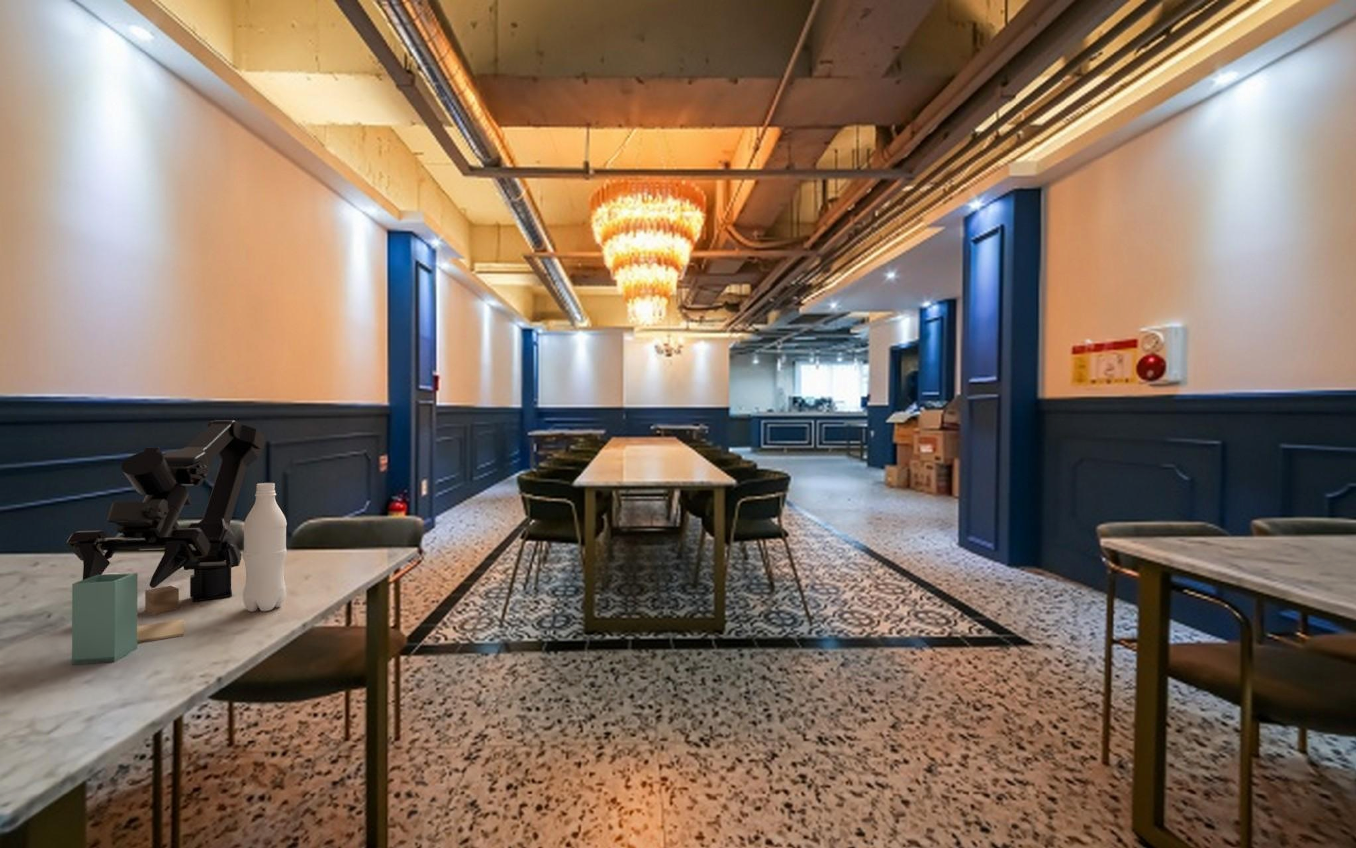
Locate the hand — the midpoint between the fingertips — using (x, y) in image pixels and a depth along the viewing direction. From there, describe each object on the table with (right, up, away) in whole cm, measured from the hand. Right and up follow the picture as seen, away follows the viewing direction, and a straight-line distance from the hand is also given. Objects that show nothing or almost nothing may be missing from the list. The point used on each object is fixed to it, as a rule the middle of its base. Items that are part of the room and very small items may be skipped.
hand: (118, 588), depth 98 cm
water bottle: (+9, -10, +22) cm, 26 cm away
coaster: (-1, -10, +7) cm, 12 cm away
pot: (+1, -10, -3) cm, 11 cm away
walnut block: (-10, -10, +20) cm, 25 cm away
